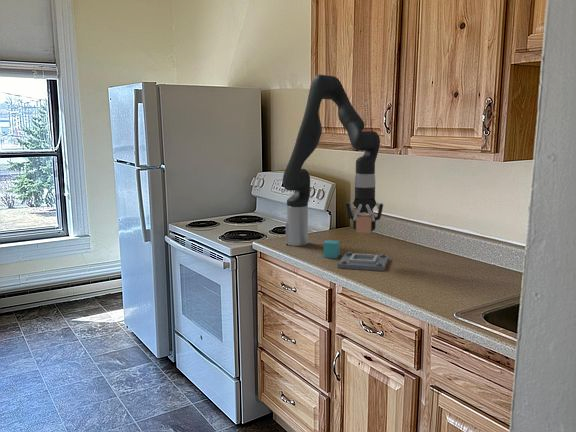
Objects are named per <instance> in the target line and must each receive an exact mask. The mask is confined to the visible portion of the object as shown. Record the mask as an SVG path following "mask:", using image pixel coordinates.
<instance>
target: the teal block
mask: <svg viewBox="0 0 576 432" xmlns="http://www.w3.org/2000/svg"><path fill="white" fill-rule="evenodd" d="M322 244H323V248H322V249H323V258H324V259H325V258H328V259H338V257H339V256H340V254H341V253H340V249H341V248H340V245H341V243H340V240H337V239H326V240H325V241H324V242H323V243H322Z"/></svg>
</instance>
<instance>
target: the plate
mask: <svg viewBox="0 0 576 432" xmlns="http://www.w3.org/2000/svg"><path fill="white" fill-rule="evenodd" d="M388 262H389V255H386V254H385V253H380V254H371V253H369V254H368V253H353V252H352V251H346V252H345V253H344V254H343V256H342V257H341V259H340V260H339V261H338V262H337V264H336V265H337V268H338V269H347V270H348V269H350V270H361V271H363V270H364V271H378V272H385V270H386V266H387V264H388Z"/></svg>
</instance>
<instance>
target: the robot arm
mask: <svg viewBox="0 0 576 432" xmlns="http://www.w3.org/2000/svg"><path fill="white" fill-rule="evenodd" d="M322 100H331V101H333V103H334V104H335V105H336V106H337V115H338V120H339V121H340V123H341V125H342V126H343V128H344V129H345V131H346V132H347V136H348V138H349V141H350V145H351V146H352V148H354V150H356V151H359V152H361V151H364V154H363V155H362V156H359V157H358V158H356V160H355V176H354V178H355V179H354V199H353V201H352V202H349V201H348V202H347V203H345V206H346V211H347V218H348V219H351V220H352V221H353V227H352V228H353V229H354V230H355V231H356V217H357V216H358V215H359V214H362V213H366V214H368V215H370V217H372V224H371V231H372V232H373V231H374V230H376V227H377V226H376V222H377V221H379V220H380V219H381V218H382V212H383V208H384V203H383V202H381V203H379V202H377V201H376V160H377V157H378V153H379V150H380V146H381V138H380V135H379V133H378V132H377V131H374V130H364V129H365V122H364V120H363V119H362V117H361V116H360V115H359V113H358V112H357V110H356V109H355V108H354V107H353V105H352V103H351V101H350V98H349V97H348V94H347V92H346V90H345V89H344V87H343V84H342V83H341V81H340V79H339V78H338V77H336V76H333V75H328V74H326V75H325V74H317V75H315V76H314V77H313V78H312V81H311V83H310V87H309V91H308V96H307V102H306V107H305V110H304V113H303V117H302V121H301V123H300V126H299V130H298V133H297V137H296V139H295V144H294V147H293V150H292V152H291V156H290V157H289V160H288V163H287V165H286V168H285V170H284V173H283V175H282V185H283V188H284V189H285V190H286V191H288V192H289V191H290V192H292V191H293V192H294V193H293V194H292V195H291V196H290V197H288V198H287V200H286V223H285V245H287V244H288V246H294V247H300V246H301V247H302V246H303V247H304V246H306V245H308V244H309V237H308V236H309V227H308V226H309V200H310V196H311V193H310V192H311V177H310V176H311V175H310V173H309V171H308V170H307V169H306V168H302V167H303V165H304V163H305V161H307V160H308V158H309V157H310V156H311V155H312V153H314V151H315V150H316V148H317V147H318V146H319V145H318V144H319V143H320V139H321V136H322V132H323V127H322V122H321V119H320V106H321V103H322ZM353 207H355V209H356V211H355V213H354V215H353V211H352V208H353ZM375 207H376V209H377V210H378V211H377V216H376V215H375V212H374V208H375Z"/></svg>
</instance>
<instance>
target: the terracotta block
mask: <svg viewBox="0 0 576 432" xmlns="http://www.w3.org/2000/svg"><path fill="white" fill-rule="evenodd" d="M371 224H372V217H370V215H369V214H362V213H359V215H358V216H357V217H356V230H355V233H356V234H372V232H373V231H371Z"/></svg>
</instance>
